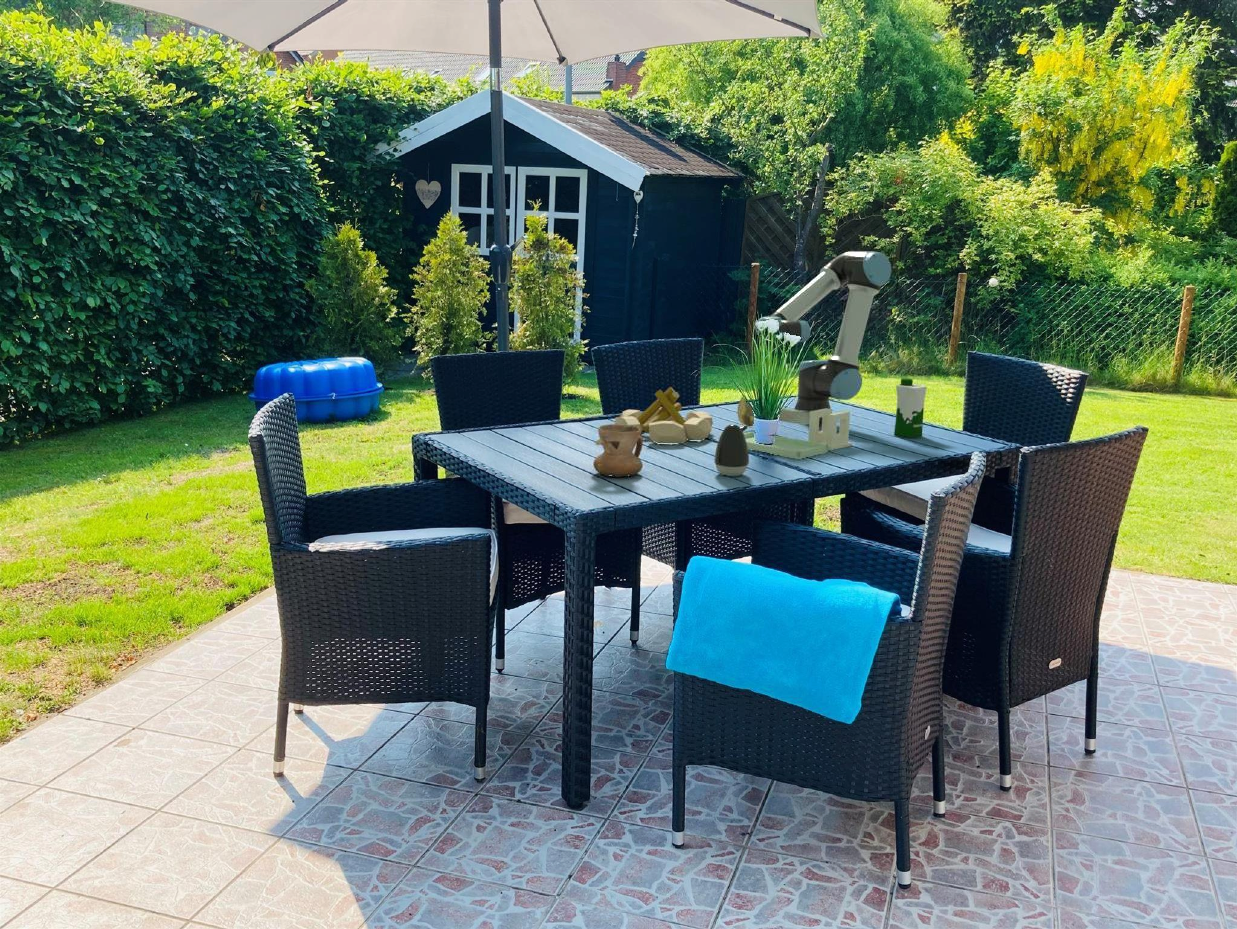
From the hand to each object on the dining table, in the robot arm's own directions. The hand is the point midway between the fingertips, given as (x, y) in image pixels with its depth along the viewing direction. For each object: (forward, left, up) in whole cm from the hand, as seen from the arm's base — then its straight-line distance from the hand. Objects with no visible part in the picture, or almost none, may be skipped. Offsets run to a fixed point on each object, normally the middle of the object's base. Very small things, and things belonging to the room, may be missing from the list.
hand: (767, 427), depth 381 cm
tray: (+19, +17, -2) cm, 25 cm away
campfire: (+30, -23, -3) cm, 38 cm away
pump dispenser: (+59, +31, -3) cm, 66 cm away
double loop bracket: (+1, +26, -2) cm, 26 cm away
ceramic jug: (+83, +8, -3) cm, 83 cm away
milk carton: (-34, +36, -3) cm, 50 cm away
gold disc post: (0, +3, -1) cm, 3 cm away
